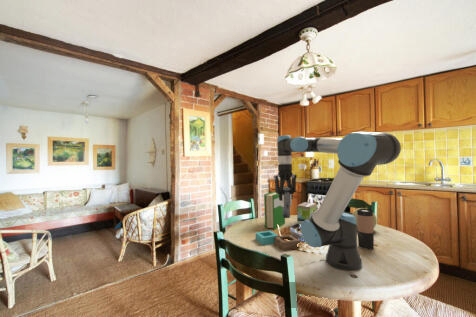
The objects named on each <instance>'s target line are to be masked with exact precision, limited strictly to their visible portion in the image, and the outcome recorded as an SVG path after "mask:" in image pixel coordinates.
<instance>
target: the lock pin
mask: <svg viewBox="0 0 476 317" xmlns="http://www.w3.org/2000/svg"><path fill="white" fill-rule="evenodd" d="M289 190H290V188H289V187H288V186H284V188H283V194H282V195H284V207H282V208H283V218H285V219H290V218H291V206H290V194H289Z"/></svg>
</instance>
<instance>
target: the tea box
mask: <svg viewBox="0 0 476 317" xmlns="http://www.w3.org/2000/svg"><path fill="white" fill-rule="evenodd" d="M317 204H318V203H316V202H305V201H304V202H302V203H299V204H297V207H296V210H297V211H296V215H297V216H296V218H297V219H296V220H297V221H296V223H297V224H302V222H303V221H305V220H309V219H310V218H311V216H312V214H313V212H314V211H316V210H318V207H317V206H318V205H317ZM297 224H296V225H297Z"/></svg>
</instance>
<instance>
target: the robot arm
mask: <svg viewBox="0 0 476 317" xmlns="http://www.w3.org/2000/svg"><path fill="white" fill-rule="evenodd" d="M276 140H277V143H276V146H277V148H276V149H277V163H278V164H277V170H278V173H277V175H273V179H274V189H275V190H274V191H275V192H276V193H277V194H279V200H280V204H281V206H282V207H284V195H282V194H283V188H284V187H285V183H286V185H287V186H286V187H289V188H290V190H289V194H290V207H292V205H293V202H292V200H294V199H293V198H294V197H293V196H294V194H295V193H296V190H297V176H298V175H297V174H293V159H292V156H293V155H292V153H322V154H323V153H325V154H334V155H335V154H336V155H337V158H338V161H337V163H338V165H339V168H338V170H337V173H336V174H335V176H334V179H333V180H332V182H331V185H330V187H329V188H328V191H327V192H326V194H325V197H324V199H323V200H322V202H321V204H320V206H319V209H317V210H316V211H314V212H313V214H312V216H311V218H310V219H309V220H305V221H303V222H302V224H301V226H300V230H301V235H302V237H303V238H302V239H303V240H304V242H305V243H306V244H307V245H308V246H310V247H311V248H322V247H324V246H328V249H327V253H326V255H325V261H326V263H327V264H328V265H329V266H331V267H333V268H336V269H339V270H344V271H357V270H360V269H361V268H362V266H363V260H362V257H361V255H360V253H359V249H358V228H357V224H356V218H355V216H353V215H352V213H349V212H348V213H346V212H345V210H346V209H347V207H348V205H349V203H350V201H351V200H352V198H353V196H354V195H355V193H356V191H357V189H358V187H359V186H360V184H361V183H362V180H363V179H364V178H366V177H367V178H368V177H370V176H371V175H372V173H373V171H374V170H375V168H376V167H377V166H380V165H381V166H382V165H388V164H390V163H393V162H394V161H395V160H397V158H399V156H400V154H401V151H402V150H401V149H402V145H401V142H400V140H399V139H398V138H397V137H396V136H395V135H393V134H391V133H388V132H379V131H378V132H374V131H364V130H363V131H355V132H354V131H353V132H350V133H348V134H346V135H344V136H343V137H304V136H296V137H292V135H287V134H286V135H285V134H283V135H278V137H277V139H276Z"/></svg>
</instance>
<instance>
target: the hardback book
mask: <svg viewBox="0 0 476 317" xmlns="http://www.w3.org/2000/svg"><path fill="white" fill-rule="evenodd" d="M263 199H264V200H263V201H264V202H263V203H264V228H265V229H273V230H274V231H275V230H277V229H278V228H277V224H278V225H279V228H281V227H282V226H283V225H285V224H286V218H283V208H282V206H281V204H280V200H279V194H277V193H276V192H275V190H274V191H272V192H268V193H264V196H263ZM273 230H272V231H273Z"/></svg>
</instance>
